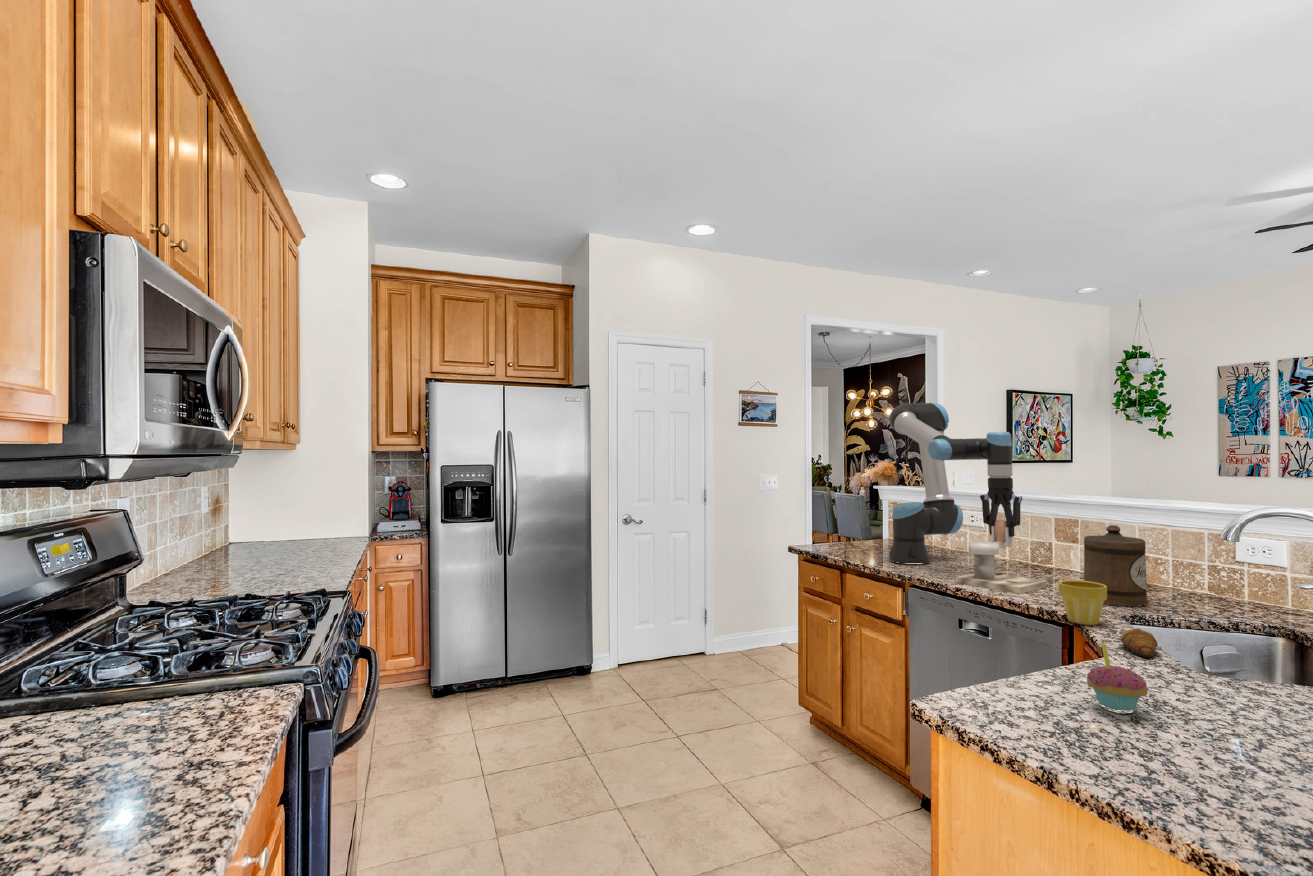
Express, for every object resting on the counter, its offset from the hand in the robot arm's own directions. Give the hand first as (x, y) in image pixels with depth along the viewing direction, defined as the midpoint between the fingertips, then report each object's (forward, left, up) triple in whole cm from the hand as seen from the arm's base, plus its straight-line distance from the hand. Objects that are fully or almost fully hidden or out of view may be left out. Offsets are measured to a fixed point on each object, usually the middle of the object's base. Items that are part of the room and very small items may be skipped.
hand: (1002, 545), depth 217 cm
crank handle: (0, -7, -1) cm, 7 cm away
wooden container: (+35, -4, -12) cm, 37 cm away
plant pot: (+40, -35, -12) cm, 54 cm away
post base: (+4, -8, -12) cm, 15 cm away
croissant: (+58, -51, -12) cm, 78 cm away
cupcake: (+69, -90, -12) cm, 114 cm away
